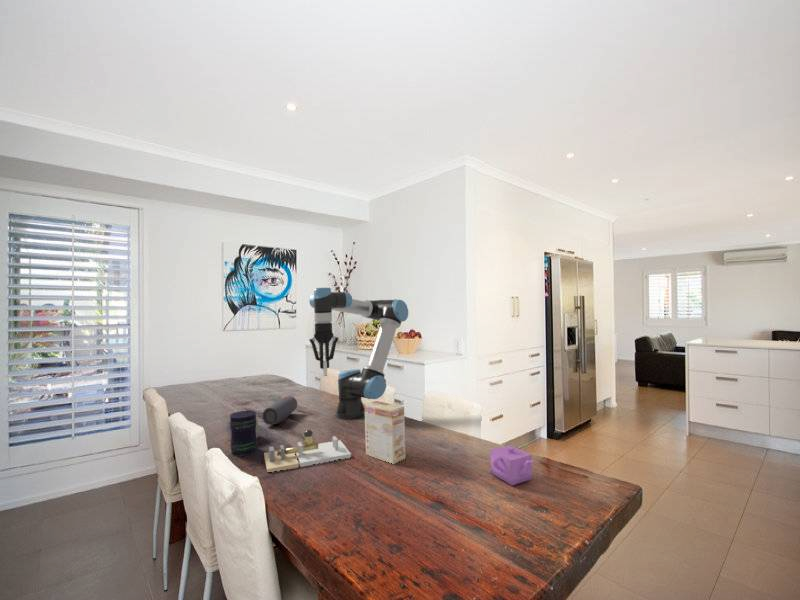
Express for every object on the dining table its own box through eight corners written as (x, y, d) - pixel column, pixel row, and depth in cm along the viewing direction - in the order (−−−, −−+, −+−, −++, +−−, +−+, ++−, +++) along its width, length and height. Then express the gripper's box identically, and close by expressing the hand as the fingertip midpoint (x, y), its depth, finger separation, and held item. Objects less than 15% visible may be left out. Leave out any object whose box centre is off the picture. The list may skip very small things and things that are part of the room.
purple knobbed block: (549, 486, 122) (548, 453, 122) (515, 497, 116) (514, 463, 116) (508, 465, 138) (507, 436, 138) (476, 474, 132) (476, 444, 132)
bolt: (317, 447, 153) (316, 427, 153) (318, 450, 150) (318, 429, 150) (277, 454, 147) (276, 433, 147) (277, 457, 144) (277, 436, 144)
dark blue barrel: (248, 456, 152) (246, 418, 152) (225, 455, 154) (224, 417, 154) (262, 447, 162) (261, 410, 162) (240, 445, 164) (239, 410, 164)
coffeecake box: (406, 458, 146) (404, 406, 146) (393, 465, 141) (391, 410, 141) (378, 449, 156) (377, 400, 156) (365, 454, 151) (363, 404, 151)
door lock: (340, 443, 163) (340, 430, 163) (350, 457, 148) (350, 443, 148) (264, 456, 151) (263, 442, 151) (267, 473, 137) (267, 457, 137)
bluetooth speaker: (282, 413, 210) (281, 394, 210) (298, 413, 209) (298, 394, 209) (261, 427, 187) (260, 406, 187) (279, 427, 186) (279, 406, 186)
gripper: (335, 321, 180) (337, 372, 180) (307, 322, 175) (308, 375, 175) (339, 322, 173) (341, 375, 173) (310, 323, 168) (311, 378, 168)
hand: (324, 375), depth 174 cm, fingers closed
